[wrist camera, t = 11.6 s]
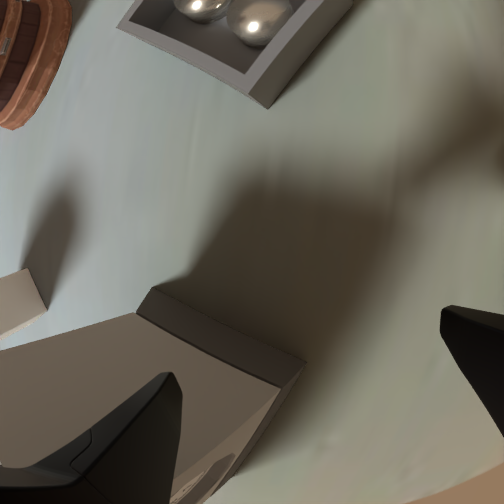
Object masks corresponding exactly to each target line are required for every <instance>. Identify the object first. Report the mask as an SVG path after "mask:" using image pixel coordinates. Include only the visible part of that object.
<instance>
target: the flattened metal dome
mask: <svg viewBox="0 0 504 504" xmlns="http://www.w3.org/2000/svg"><path fill="white" fill-rule="evenodd" d="M293 14H294V12H293V9H292V7H291V4H290V2H289V0H234V1H233V2H232V3H231V5H230V6H229V8H228V11H227V15H226V19H227V23H228V26H229V27H230V29H231V30H232V31H233V32H234V33H235V34H236V35H237V36H238V37H239V38H240V40H241V41H242V42H243V43H244V44H246V45H247V46H249V47H251V48H254V49H259V50H264V49H265V48H266V47H267V45H268V44H269V43H270V42H271V40H272V39H273V38H274V37H275V36H276V34H277V33H278V32H279V31H280V30H281V28H282V27H283V26H284V25H285V24H286V22H287V21H288V20H289V19H290V18H291V17H292V16H293Z"/></svg>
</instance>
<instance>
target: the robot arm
mask: <svg viewBox="0 0 504 504" xmlns="http://www.w3.org/2000/svg"><path fill="white" fill-rule="evenodd" d="M440 334H441V337H442V338H443V340H444V342H445V344H446V345H447V347H448V349H449V351H450V353H451V354H452V356H453V358H454V360H455V362H456V363H457V365H458V367H459V368H460V370H461V371H462V373H463V374H464V376H465V377H466V379H467V380H468V382H469V383H470V385H471V386H472V388H473V389H474V391H475V392H476V394H477V395H478V397H479V398H480V400H481V401H482V403H483V404H484V406H485V407H486V409H487V411H488V412H489V414H490V415H491V417H492V419H493V420H494V422H495V424H496V425H497V427H498V429H499V430H500V432H501V434H502V435H503V437H504V315H502V314H497V313H491V312H486V311H481V310H476V309H471V308H465V307H460V306H455V305H450V306H447V307H445V308H443V309H442V311H441V319H440ZM182 403H183V394H182V390H181V388H180V386H179V383H178V381H177V379H176V377H175V375H174V373H173V372H161V373H159V374H158V375H157V376H155V377H154V378H153V379H152V380H151V381H149V382H148V383H147V384H145V385H144V386H143V387H142V388H140V389H139V390H138V391H137V392H135V393H134V394H133V395H132V396H130V397H129V398H128V399H126V400H125V401H124V402H123V403H121V404H120V405H119V406H118V407H116V408H115V409H114V410H112V411H111V412H110V413H108V414H107V415H106V416H105V417H103V418H102V419H101V420H99V421H98V422H97V423H95V424H94V425H93V426H91V428H89V429H87V430H86V431H85V432H83V433H82V434H81V435H79V436H78V437H77V438H75V439H74V440H72V441H71V442H69V443H68V444H66V445H65V446H63V447H61V448H60V449H58V450H57V451H55V452H53V453H52V454H50V455H48V456H47V457H45V458H43V459H42V460H40V461H38V462H36V463H35V464H33V465H31V466H28V467H24V468H7V467H0V504H170V497H171V491H172V484H173V478H174V472H175V466H176V460H177V454H178V448H179V442H180V436H181V422H182Z"/></svg>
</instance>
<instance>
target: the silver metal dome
mask: <svg viewBox="0 0 504 504" xmlns="http://www.w3.org/2000/svg"><path fill="white" fill-rule="evenodd" d="M233 1H234V0H174V5H175V7H176V8H177V9H178V10H179V11H180V12H182V13H183V14H184V15H186V16H187V17H188V18H189V19H190V20H192V21H193V22H195V23H199V24H209V23H213V22H216V21H218V20H221V19H222V18H224V17H225V16H226V15H227V11H228V8H229V6H230V5H231V3H232V2H233Z"/></svg>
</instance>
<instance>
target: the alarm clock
mask: <svg viewBox="0 0 504 504" xmlns="http://www.w3.org/2000/svg"><path fill="white" fill-rule="evenodd" d="M306 363H307V362H305V361H303V360H301V359H298V358H296V357H294V356H291V355H289V354H287V353H284V352H282V351H280V350H278V349H275V348H273V347H271V346H269V345H266V344H264V343H262V342H260V341H258V340H256V339H253V338H251V337H249V336H247V335H245V334H243V333H241V332H239V331H237V330H234V329H232V328H230V327H228V326H226V325H224V324H222V323H220V322H218V321H216V320H214V319H212V318H210V317H208V316H206V315H204V314H202V313H200V312H198V311H196V310H194V309H192V308H190V307H189V306H187V305H185V304H183V303H181V302H179V301H177V300H175V299H173V298H172V297H170V296H168V295H166V294H164V293H162V292H160V291H159V290H157V289H155V288H153V287H152V288H151V289H150V291H149V292H148V294H147V295H146V297H145V298H144V300H143V301H142V303H141V305H140V306H139V308H138V309H137V311H136V314H135V313H134V312H133V313H129V314H126V315H123V316H119V317H116V318H113V319H109V320H106V321H103V322H99V323H96V324H93V325H89V326H86V327H83V328H79V329H76V330H72V331H69V332H65V333H62V334H59V335H55V336H52V337H48V338H45V339H41V340H38V341H34V342H30V343H27V344H23V345H20V346H16V347H12V348H9V349H5V350H1V351H0V461H1V463H2V465H0V467H7V468H24V467H28V466H31V465H33V464H35V463H36V462H38V461H40V460H42V459H43V458H45V457H47V456H48V455H50V454H52V453H53V452H55V451H57V450H58V449H60V448H61V447H63V446H65V445H66V444H68V443H69V442H71V441H72V440H74V439H75V438H77V437H78V436H79V435H81V434H82V433H83V432H85V431H86V430H87V429H89V428H91V426H93V425H94V424H95V423H97V422H98V421H99V420H101V419H102V418H103V417H105V416H106V415H107V414H108V413H110V412H111V411H112V410H114V409H115V408H116V407H118V406H119V405H120V404H121V403H123V402H124V401H125V400H126V399H128V398H129V397H130V396H132V395H133V394H134V393H135V392H137V391H138V390H139V389H140V388H142V387H143V386H144V385H145V384H147V383H148V382H149V381H151V380H152V379H153V378H154V377H155V376H157V375H158V374H159V373H161V372H173V373H174V375H175V377H176V379H177V381H178V383H179V386H180V388H181V390H182V394H183V403H182V422H181V436H180V442H179V448H178V454H177V460H176V466H175V472H174V478H173V484H172V491H171V497H170V504H202V503H203V502H205V501H206V500H207V499H208V498H209V497H210V496H212V495H213V494H214V493H215V492H216V491H217V490H219V489H220V488H221V487H222V486H223V485H224V484H225V483H226V482H227V481H228V480H229V479H230V478H231V477H232V476H233V474H234V473H235V472H236V470H237V469H238V468H239V466H240V465H241V464H242V462H243V461H244V459H245V458H246V457H247V455H248V454H249V452H250V451H251V450H252V448H253V447H254V445H255V444H256V442H257V441H258V440H259V438H260V437H261V435H262V434H263V432H264V431H265V429H266V428H267V426H268V425H269V423H270V422H271V420H272V419H273V417H274V416H275V414H276V413H277V411H278V409H279V408H280V406H281V405H282V403H283V402H284V400H285V398H286V397H287V395H288V394H289V392H290V390H291V389H292V387H293V385H294V384H295V382H296V380H297V379H298V377H299V375H300V374H301V372H302V370H303V369H304V367H305V365H306Z"/></svg>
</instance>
